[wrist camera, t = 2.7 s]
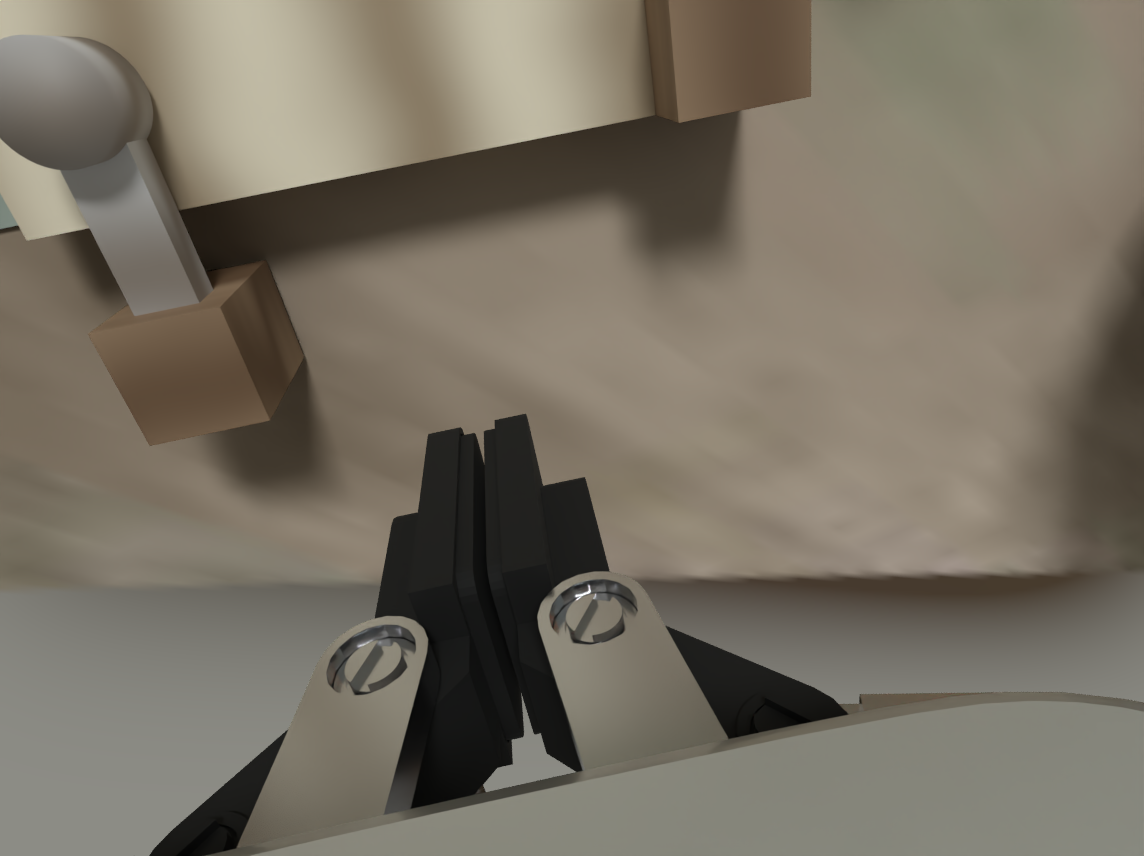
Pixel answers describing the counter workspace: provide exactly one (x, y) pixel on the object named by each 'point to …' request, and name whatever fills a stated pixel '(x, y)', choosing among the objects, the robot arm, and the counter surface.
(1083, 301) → the counter surface
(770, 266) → the counter surface
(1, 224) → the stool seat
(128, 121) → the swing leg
